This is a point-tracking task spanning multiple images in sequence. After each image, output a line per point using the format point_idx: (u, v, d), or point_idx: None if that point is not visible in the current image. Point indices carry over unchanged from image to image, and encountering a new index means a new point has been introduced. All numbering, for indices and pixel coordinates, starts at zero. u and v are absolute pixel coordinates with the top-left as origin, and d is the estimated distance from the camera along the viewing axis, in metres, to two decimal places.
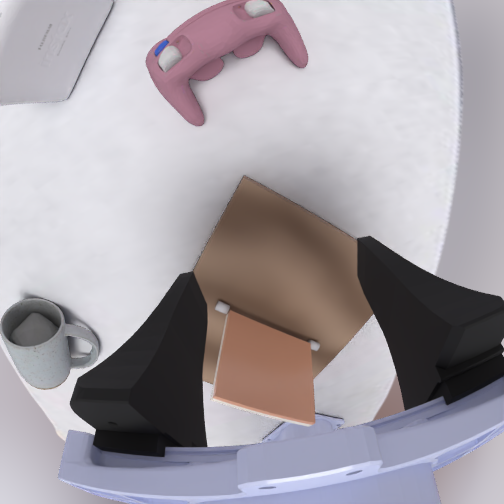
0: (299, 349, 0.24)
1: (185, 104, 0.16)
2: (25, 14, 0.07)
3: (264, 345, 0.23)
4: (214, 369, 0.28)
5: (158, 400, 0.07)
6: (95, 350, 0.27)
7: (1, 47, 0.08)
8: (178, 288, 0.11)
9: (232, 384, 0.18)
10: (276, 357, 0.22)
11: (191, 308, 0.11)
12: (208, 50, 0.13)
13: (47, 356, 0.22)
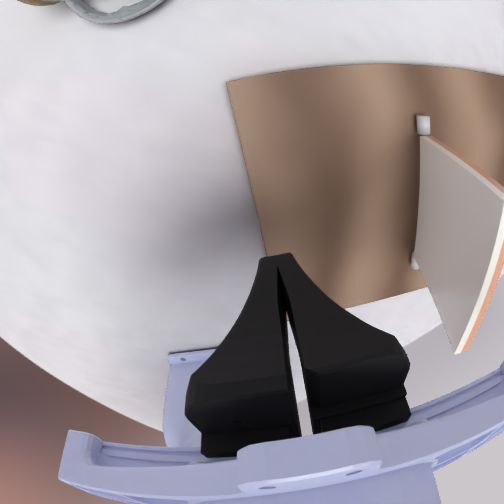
0: None
1: None
2: None
3: None
4: (296, 188, 0.15)
5: (290, 387, 0.07)
6: (143, 5, 0.10)
7: None
8: (269, 271, 0.11)
9: None
10: None
11: (280, 292, 0.11)
12: None
13: None
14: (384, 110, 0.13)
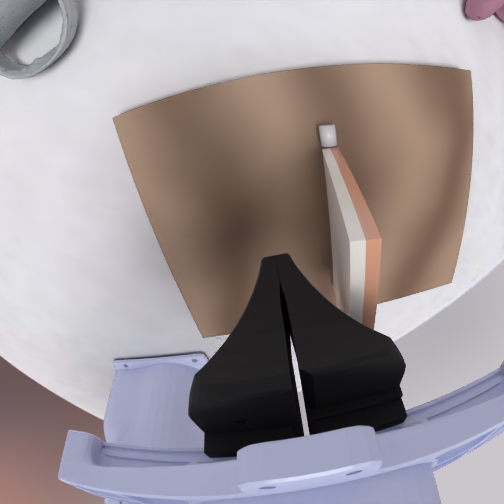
0: None
1: (500, 3, 0.06)
2: None
3: None
4: (188, 213, 0.15)
5: (294, 386, 0.07)
6: (48, 57, 0.10)
7: None
8: (271, 270, 0.11)
9: None
10: None
11: None
12: None
13: None
14: (277, 124, 0.13)
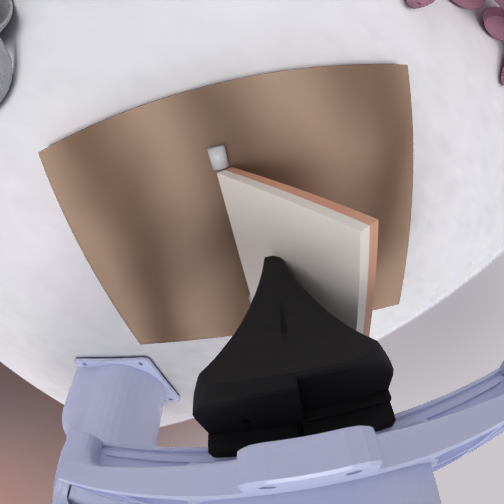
0: None
1: None
2: None
3: None
4: (105, 234, 0.16)
5: None
6: None
7: None
8: (274, 270, 0.11)
9: None
10: None
11: None
12: None
13: None
14: (170, 150, 0.13)
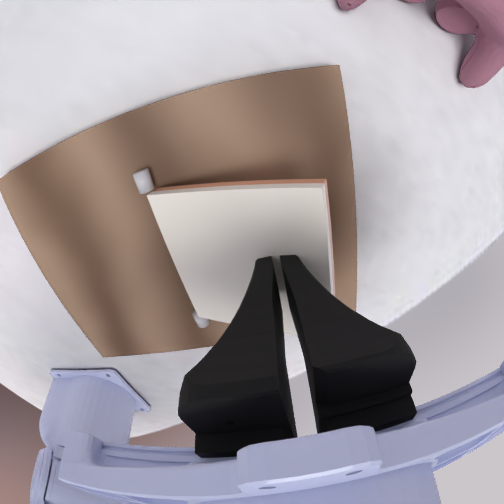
0: None
1: None
2: None
3: None
4: (58, 255, 0.15)
5: (284, 388, 0.07)
6: None
7: None
8: (264, 272, 0.11)
9: None
10: None
11: (276, 293, 0.11)
12: None
13: None
14: (102, 176, 0.13)
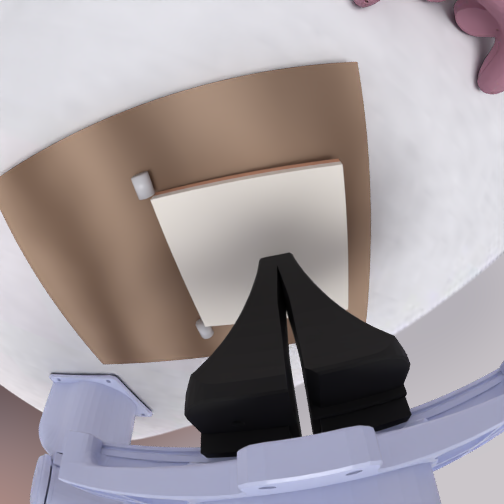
0: None
1: None
2: None
3: None
4: (54, 262, 0.15)
5: (290, 387, 0.07)
6: None
7: None
8: (269, 271, 0.11)
9: None
10: None
11: (280, 292, 0.11)
12: None
13: None
14: (99, 179, 0.12)
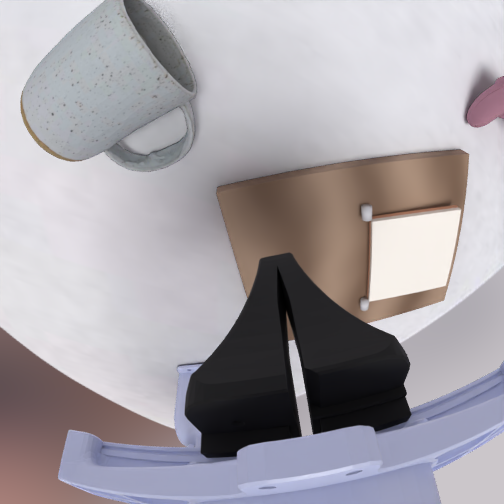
0: None
1: (495, 116, 0.14)
2: None
3: None
4: None
5: (290, 387, 0.07)
6: (168, 157, 0.18)
7: None
8: (269, 271, 0.11)
9: None
10: None
11: (280, 292, 0.11)
12: None
13: (149, 105, 0.12)
14: (334, 205, 0.20)
